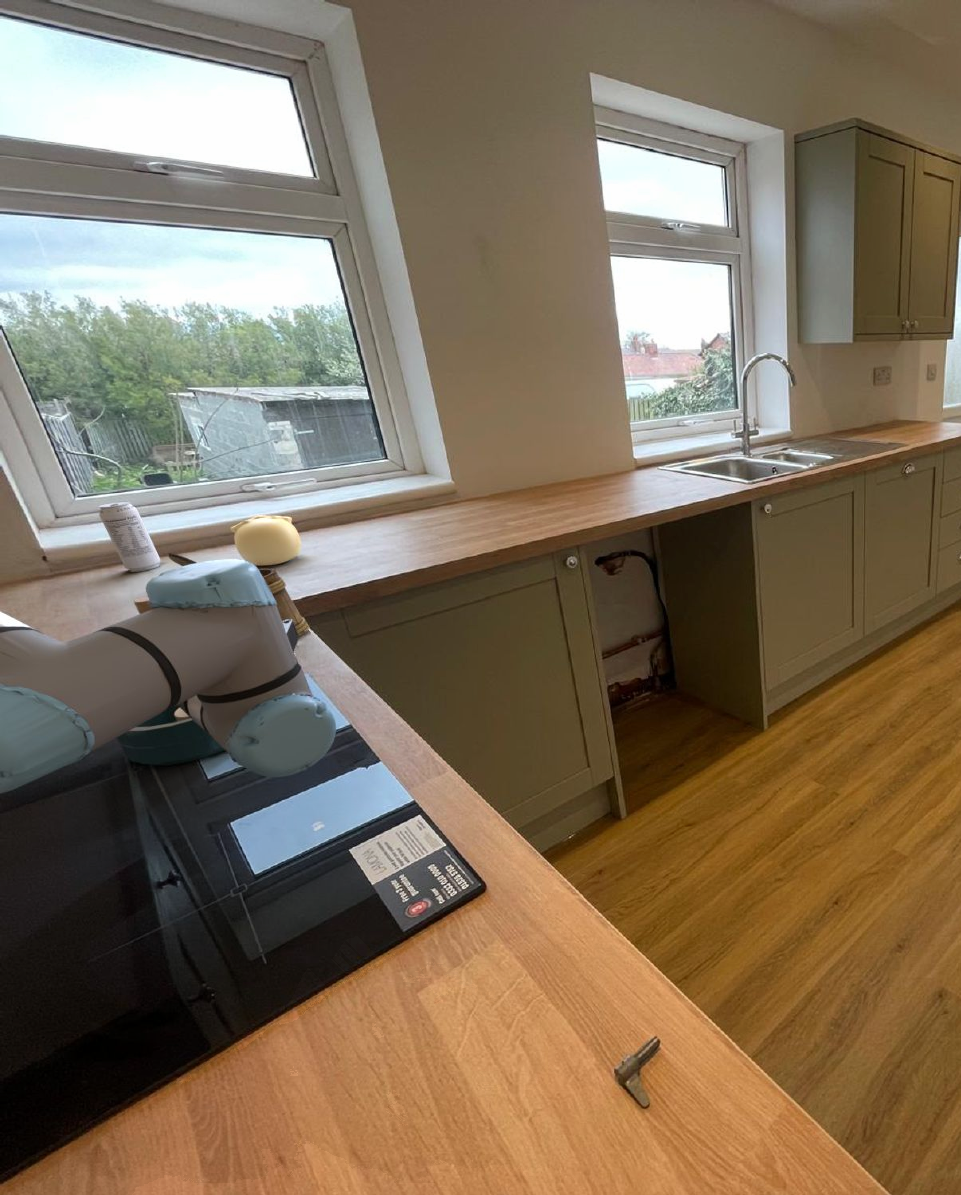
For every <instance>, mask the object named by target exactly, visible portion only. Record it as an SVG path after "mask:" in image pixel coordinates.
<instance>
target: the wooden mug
mask: <svg viewBox="0 0 961 1195" xmlns="http://www.w3.org/2000/svg"><path fill="white" fill-rule="evenodd" d="M168 558H169V559H170V560H171V561H172V562H174V563H175V564H177V565H179V566H180V567H182V566H186V565H190V564H194V563H198V562H197V561H195V560H192V559H190V558H187V557H186V556H182V555H180V554H176V553H171V552H169V553H168ZM258 569H259V571H260V573H261V575H262V577H263V578H264V580H265V581H266V583H267V585H268V587H269V589H270V591H271V593H272V595H273V597H274V599H275V600H276V602H277V605H276V606H277V608H278V611H279V614H280V617H281V620H282V621H284V620H288V619H292V620H293V623H294V625H295V627H296V630H297V633H298V635H299V637H301V636H303V635H304V634H306V633H307V632H308V631H309V629H310V625H309V624H308V622H307V621H306V619H305V617H304V616H302V615H301V614H300V612H299V610H298V608H297V607H296V605H295V603H294V601H293V599H292V598H291V595H290V594H289V593H288V591H287V589H286V586H287V584H286V582H285V580H284V579H283V577H281V576H280V575H279V574H278V572H277V571H276V569H274V568H258Z"/></svg>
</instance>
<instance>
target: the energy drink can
mask: <svg viewBox="0 0 961 1195" xmlns="http://www.w3.org/2000/svg"><path fill="white" fill-rule="evenodd" d="M98 515H99V518H100V520H101V522H102V523H103V525H104V528H105V530H106V532H107V534H108V536H109V538H110V540H111V541H112V545H113V547H114V549H115V550H116V552H117V555H118V556H119V558H120V560H121V563H122V564H123V566H124V568H125V569H127V570H129V571H130V572H132V573H138V572H139V573H140V572H144V571H149V570H152V569H153V570H154V569H155V568H158V567H159V566H160V562H161V558H160V556H159V553H158V552H157V550H156V547H155V544H154V542H153V541H152V538H151V537H150V534H149V532H148V530H147V528H146V524H144V521H143V519H142V517H141V515H140V513H139V511H138V508H136V507H135V506H134V505H133V504H131V502H130V501H127V500H126V501H125V500H123V501H116V502H110V503H105V504H102V505H99V514H98Z"/></svg>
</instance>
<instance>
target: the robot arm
mask: <svg viewBox="0 0 961 1195" xmlns="http://www.w3.org/2000/svg"><path fill="white" fill-rule="evenodd" d="M259 569H260V568H258V567H257V565H253V564H252V563H250V562H248V561H245V560H244V559H238V558H223V559H213V560H212V559H211V560H205V561H199V562H197V563H194V564H190V565H186V566H178V567H175V568H172V569H169V570H166V571H164V572H161V573H159V575H157V576H155V577H152V578H151V579H150V580H149V581H148V582H147V583H146V585H145V592H146V596H148V598H149V601H148V604H149V606H150V607H152V610H150V611H147V612H144V613H142V614H139V613H138V614H137V615H134V616H132V617H129V618H126V619H124V620H121V621H119V622H116V623H113V624H110V625H107V626H105V627H104V628H101V629H99V630H96V631H93V632H91V633H88V634H85V635H82V636H80V637H77V638H74V639H72V640H69V641H60V640H58V639H56V638H55V637H52V636H50V635H48V634H45V633H43V632H41V631H39V630H37V629H36V628H33V627H32V626H29V625H28V624H26V623H24V622H22V621H20V620H18V619H16V618H14V617H12V616H10V615H8V614H7V613H4V612H2V611H1V610H0V794H3V793H4V794H5V793H8V792H12V791H14V790H16V789H18V788H21V787H22V786H25V785H27V784H29V783H31V782H34V781H36V780H38V779H40V778H43V777H45V776H47V775H49V774H51V773H54V772H56V771H58V770H60V769H62V768H64V767H67V766H70V765H73V764H74V763H75V764H76V763H77V762H79V761H81V760H82V759H84V758H85V756H87V755H89V754H90V753H92V752H93V751H95V750H97V749H98V748H100V747H102V746H103V745H105V744H108V743H109V742H111V741H113V740H115V739H117V737H118V736H120V735H122V734H124V733H126V732H128V731H129V730H131V729H133V728H135V727H137V726H139V725H140V724H142V723H144V722H146V721H149V720H151V719H152V718H153V717H155V716H157V715H159V714H161V713H163V712H165V711H167V710H169V709H171V708H173V707H175V706H178V707H180V708H181V709H182V710H183V711H184V712H185V713H186V714H187V715H188V716H189V717H191V718H192V719H193V720H194V722H196V723H197V724H198V725H199V726H200V727H201V728H202V729H203V730H205V731H206V732H207V733H208V734H209V735H211V736H212V737H213V738H214V739H215V740H216V741H217V742H218V743H219V744H220V745H221V746H222V747H223V748H224V749H225V750H224V751H225V752H226V753H227V754H228V755H229V757H230V759H231V760H232V761H233V763H236V764H237V765H239V766H242V767H243V768H245V769H247V770H248V771H250V772H252V773H254V774H256V775H258V776H262V777H268V778H281V777H283V778H284V777H288V776H292V775H295V774H298V773H300V772H304V771H306V770H307V769H308V768H311V767H312V766H314V765H315V764H316V763H318V762H319V761H320V760H321V759H323V758H324V756H325V755H326V754H327V753H328V751H329V750H330V749H331V747H332V745H333V744H334V741H335V737H336V734H337V724H336V723H337V722H336V719H335V716H334V714H333V713H332V712H331V710H330V709H329V708H328V707H327V705H326V703H325V702H323V701H321V699H320V698H318V697H316V696H314V694H313V692H312V690H311V687H310V685H309V682H308V680H307V677H306V675H305V672H304V670H303V668H302V665H301V664H300V663H299V661H298V658H297V657H296V656H295V654H294V652H295V649H296V647H297V644H298V642H299V639H300V636H299V635H298V633H297V630H296V627H295V625H294V623H293V620H292V619H288V620H284V621H282V620H281V617H280V614H279V611H278V608H277V606H276V605H277V602H276V600H275V599H274V597H273V595H272V593H271V591H270V589H269V587H268V585H267V583H266V581H265V580H264V578H263V577H262V575H261V573H260V571H259Z"/></svg>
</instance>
